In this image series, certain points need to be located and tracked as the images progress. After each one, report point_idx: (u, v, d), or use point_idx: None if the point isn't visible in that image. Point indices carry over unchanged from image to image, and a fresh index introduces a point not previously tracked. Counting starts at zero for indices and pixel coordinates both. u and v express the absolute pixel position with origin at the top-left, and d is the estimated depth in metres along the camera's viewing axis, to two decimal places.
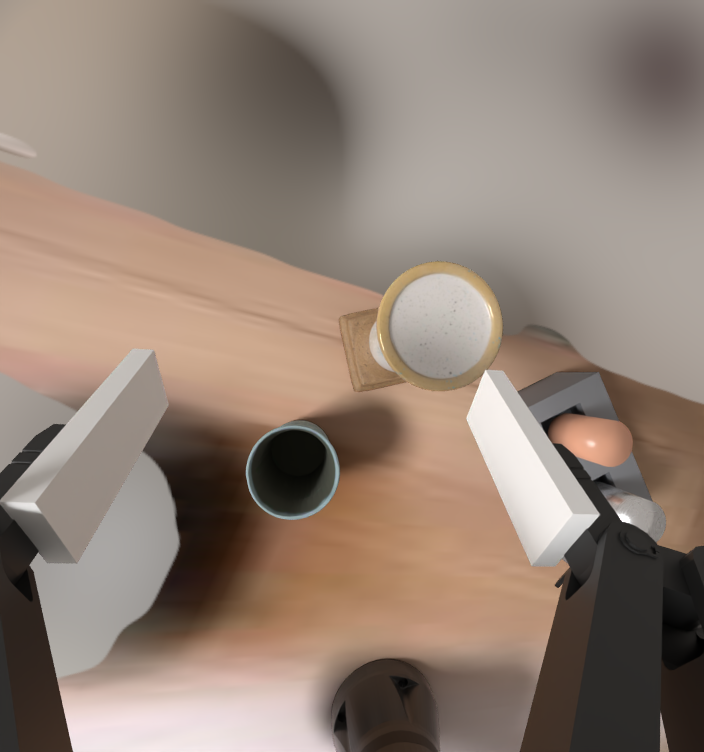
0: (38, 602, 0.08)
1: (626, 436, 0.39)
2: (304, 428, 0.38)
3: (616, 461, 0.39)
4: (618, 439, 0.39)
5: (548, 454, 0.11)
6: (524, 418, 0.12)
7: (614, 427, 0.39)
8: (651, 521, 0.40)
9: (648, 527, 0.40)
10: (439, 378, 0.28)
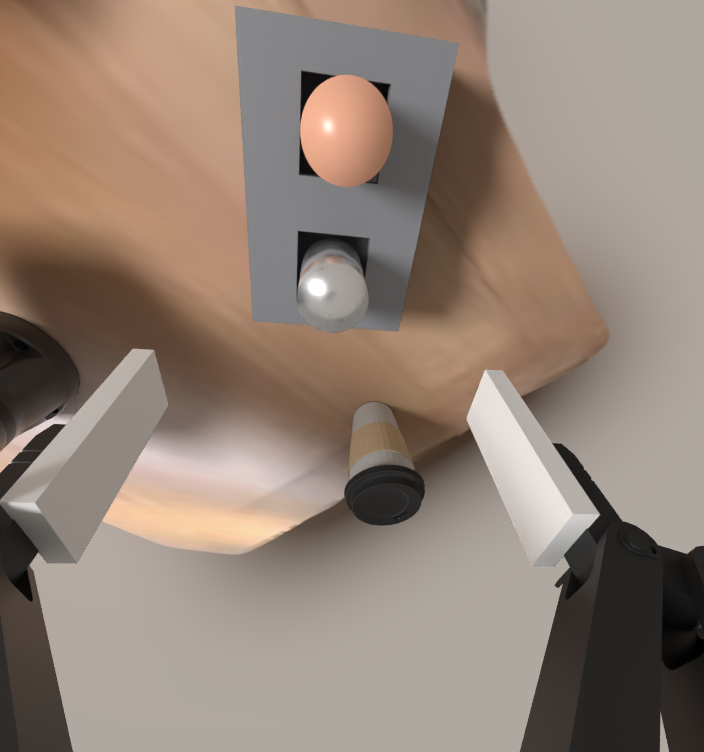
0: (38, 602, 0.08)
1: (381, 141, 0.20)
2: None
3: (338, 176, 0.21)
4: (364, 136, 0.20)
5: (548, 454, 0.11)
6: (524, 418, 0.12)
7: (368, 106, 0.19)
8: (344, 304, 0.26)
9: (335, 308, 0.26)
10: None
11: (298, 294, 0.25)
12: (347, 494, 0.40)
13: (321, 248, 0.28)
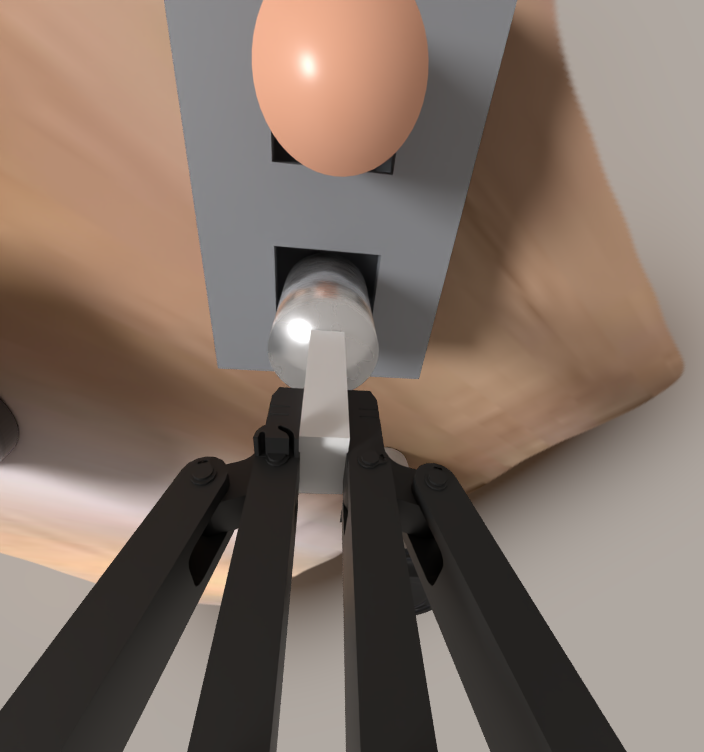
0: None
1: (405, 88, 0.11)
2: None
3: (327, 157, 0.12)
4: (373, 80, 0.11)
5: (337, 394, 0.12)
6: (335, 368, 0.13)
7: (383, 15, 0.10)
8: None
9: None
10: None
11: (270, 345, 0.16)
12: None
13: (308, 270, 0.19)
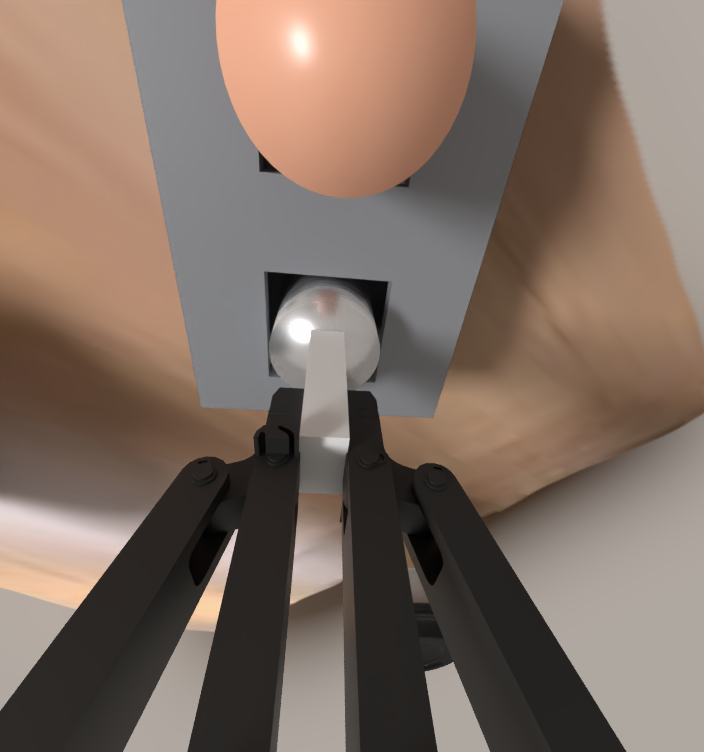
0: (295, 536, 0.10)
1: (440, 74, 0.07)
2: None
3: (327, 171, 0.08)
4: (395, 62, 0.07)
5: (336, 394, 0.12)
6: (335, 368, 0.13)
7: None
8: None
9: None
10: None
11: (271, 345, 0.16)
12: None
13: None
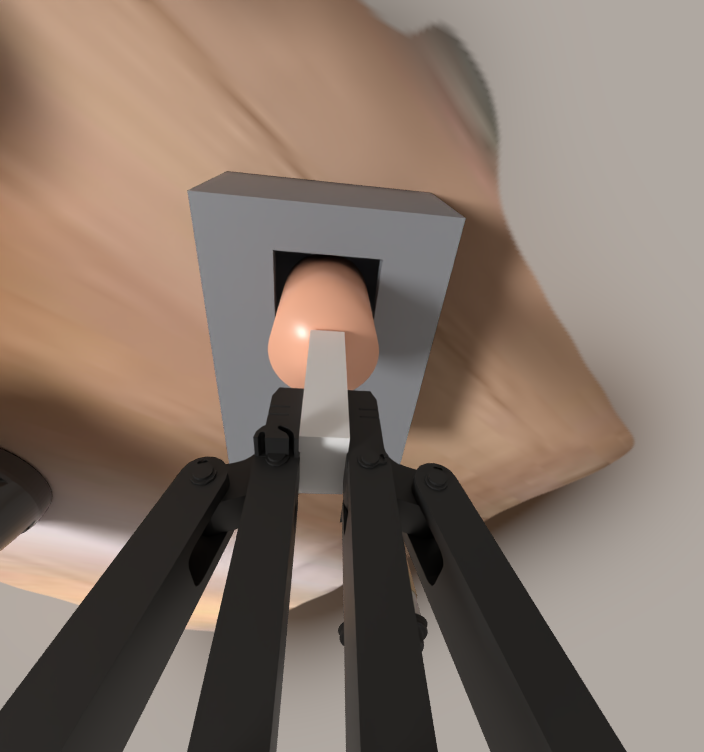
0: None
1: (365, 357, 0.17)
2: None
3: None
4: None
5: (337, 394, 0.12)
6: (335, 368, 0.13)
7: (349, 328, 0.16)
8: None
9: None
10: None
11: None
12: (341, 637, 0.36)
13: None
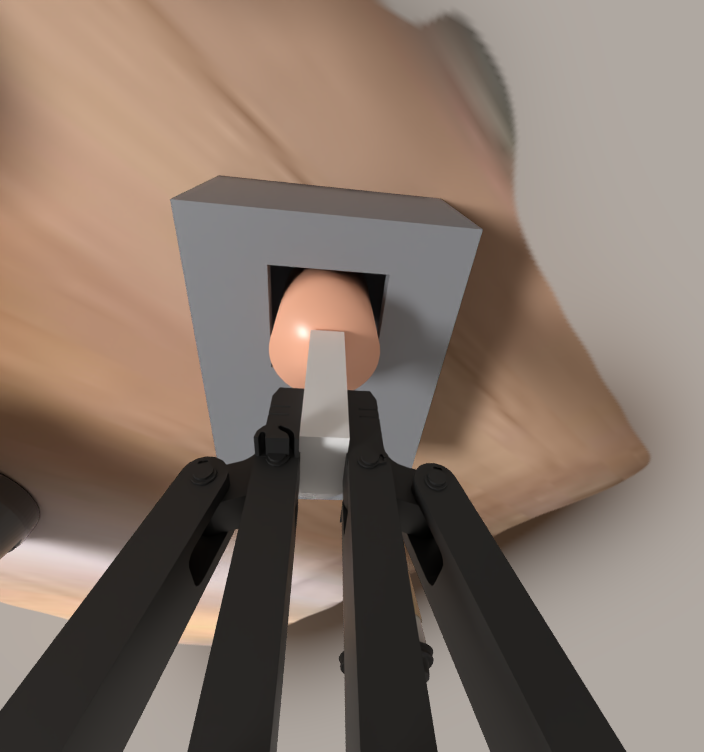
0: (295, 536, 0.10)
1: (366, 357, 0.17)
2: None
3: None
4: (345, 354, 0.17)
5: (336, 394, 0.12)
6: (335, 368, 0.13)
7: (350, 328, 0.16)
8: None
9: None
10: None
11: None
12: (342, 666, 0.34)
13: None
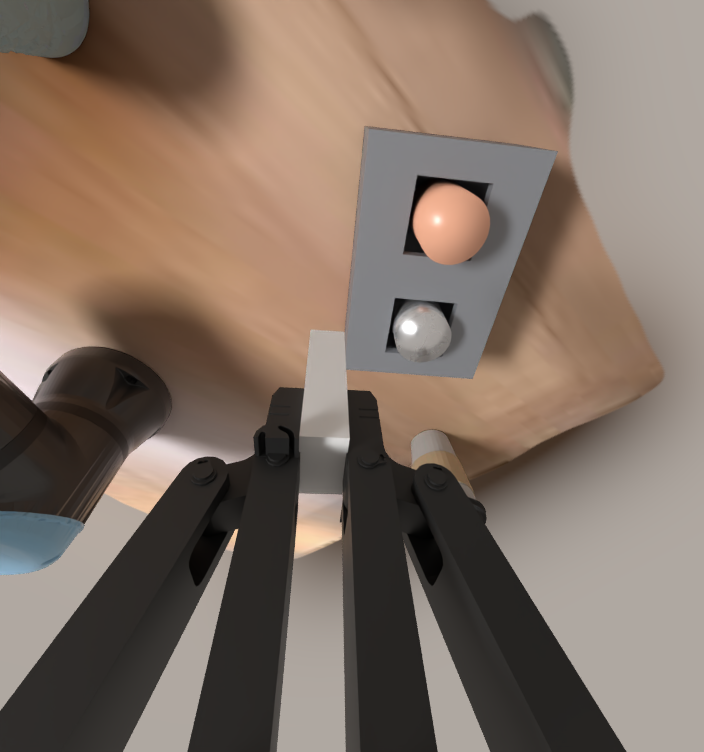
0: None
1: (479, 234, 0.27)
2: None
3: (443, 257, 0.28)
4: (467, 231, 0.27)
5: (336, 394, 0.12)
6: (335, 368, 0.13)
7: (473, 211, 0.26)
8: (431, 342, 0.33)
9: (424, 344, 0.33)
10: None
11: (397, 334, 0.33)
12: None
13: None
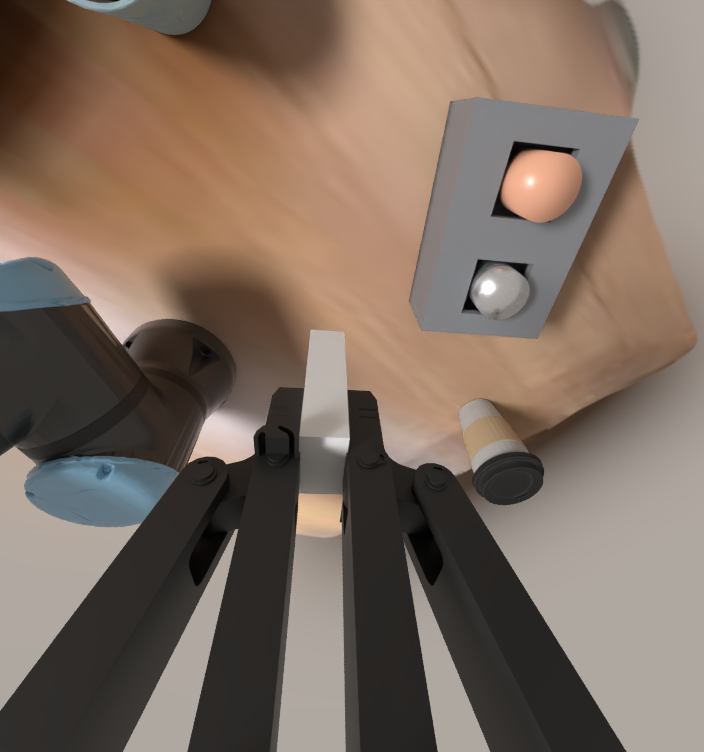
0: None
1: (571, 193, 0.30)
2: None
3: (536, 215, 0.31)
4: (560, 190, 0.30)
5: (337, 394, 0.12)
6: (335, 368, 0.13)
7: (568, 171, 0.29)
8: (510, 299, 0.36)
9: (503, 302, 0.36)
10: None
11: (480, 292, 0.36)
12: (478, 477, 0.47)
13: None
